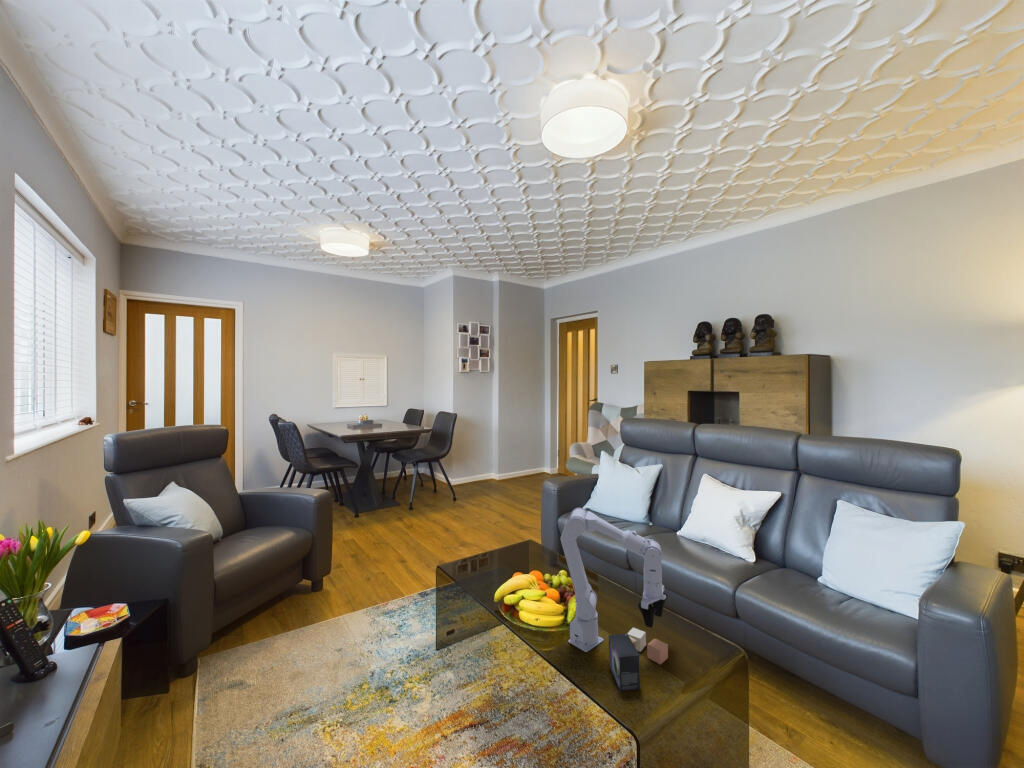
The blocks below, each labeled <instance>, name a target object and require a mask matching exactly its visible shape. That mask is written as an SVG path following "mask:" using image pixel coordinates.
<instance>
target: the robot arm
mask: <svg viewBox="0 0 1024 768" xmlns="http://www.w3.org/2000/svg"><path fill="white" fill-rule="evenodd" d="M586 530H587V534H588V533H593V532H599V533H601V534H604V535H605V536H608V537H610V538H613V539H614V540H616V541H618V542H619V543H620V546H621V547H622V548H624V549H626V550H628V551H630V552H632V553H634V554H636V555H638V556H639V557H642V558H643V560H644V561H643V562H644V564H643V565H642V566H643V591H642V600H641V601H639V602H638V603H637V606H638V609H639V611H640V612H641V615H642V617H643V618H642V619H643V621H644V624H645V625H644V626H645V627H646V628H650V629H652V628H653V627H654V618H655V616H656V617H658V618H661V617H662V615H663V611H664V606H665V603H666V600H667V599H668V597H669V595H668V594H667V593H666V592H665V585H664V584H663V566H662V560H663V558H664V557H663V553H662V547H661V545H660V543H659V542H657V541H656V540H655V539H650V538H645V537H643V536H641V535H640V534H637V531H636V530H633V529H632V530H631V529H626V530H622V529H621V528H618V527H616V526H615V525H614V524H611V523H610V522H608V521H606V520H604V519H603V518H601V517H600V516H598V515H596V514H595V513H593V512H592V511H591V510H590V511H589V510H588V511H587V510H586V509H585V508H583V507H576V508H574V509H573V510H572V511H571V512H570V513H569V515H568V517H567V518H566V521H565V523H564V526H563V529H562V532H561V534H560V535H561V536H560V537H559V538H560V542H561V543H560V544H561V546H562V549H563V553H564V557H565V560H566V563H567V568H568V572H569V574H570V578H571V581H572V585H573V588H574V597H575V598H574V600H575V604H576V606H575V617H574V618H573V620H572V621H571V622H570V623H569V639H568V640H567V641H568V643H569V644H571V645H573V646H574V647H576V648H578V649H579V650H581V651H583V652H585V653H588V652H589V651H591V650H592V649H594V648H595V647H596V646H598V645H600V644H601V643H603V642H604V638H603V637H601V636H599V619H598V618H599V617H598V616H599V615H598V610H597V609H596V606H597V602H598V597H597V594H596V592H595V591H594V590H593V588H592V585H591V584H590V583H589V580H588V577H587V574H586V569H585V567H584V563H583V560H582V556H581V553H580V549H579V546H578V543H577V539H578V537H579V536H581V535H583V534H585V532H586Z"/></svg>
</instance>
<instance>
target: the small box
mask: <svg viewBox="0 0 1024 768" xmlns="http://www.w3.org/2000/svg"><path fill="white" fill-rule="evenodd" d="M608 654H609V655H608V656H609V669H610V672H611V674H612V676H613V678H614V680H615V682H616V685H617V687H618V689H619V692H629V691H631V692H632V691H639V690H640V691H641V688H642V687H641V674H640V673H641V671H640V670H641V669H640V657H641V655H640V653H639V651H637V650H636V648H635V646H634V644H633V642H632V641H631V639H630V637H629V635H628V634H627V633H619V634H617V633H616V634H610V635H608Z"/></svg>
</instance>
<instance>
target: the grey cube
mask: <svg viewBox="0 0 1024 768" xmlns="http://www.w3.org/2000/svg"><path fill="white" fill-rule="evenodd" d="M626 634H628V635H629V636H630V637H632V638H633V639H635V640H636V641H637V651H638V653H639V652H640V653H641V652H642V651H643V650H644V649H645V647H646V646H647V637H646V636H647V634H646V631H643V630H641V629H638V628H636V627H632V628H631V629H630V630H628V632H627V633H626Z"/></svg>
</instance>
